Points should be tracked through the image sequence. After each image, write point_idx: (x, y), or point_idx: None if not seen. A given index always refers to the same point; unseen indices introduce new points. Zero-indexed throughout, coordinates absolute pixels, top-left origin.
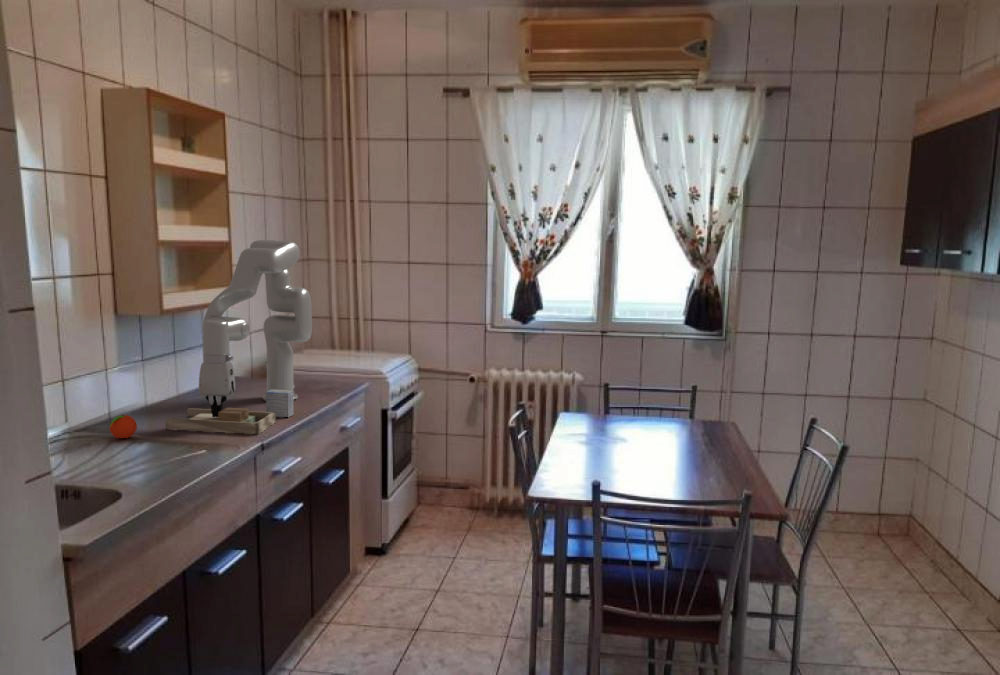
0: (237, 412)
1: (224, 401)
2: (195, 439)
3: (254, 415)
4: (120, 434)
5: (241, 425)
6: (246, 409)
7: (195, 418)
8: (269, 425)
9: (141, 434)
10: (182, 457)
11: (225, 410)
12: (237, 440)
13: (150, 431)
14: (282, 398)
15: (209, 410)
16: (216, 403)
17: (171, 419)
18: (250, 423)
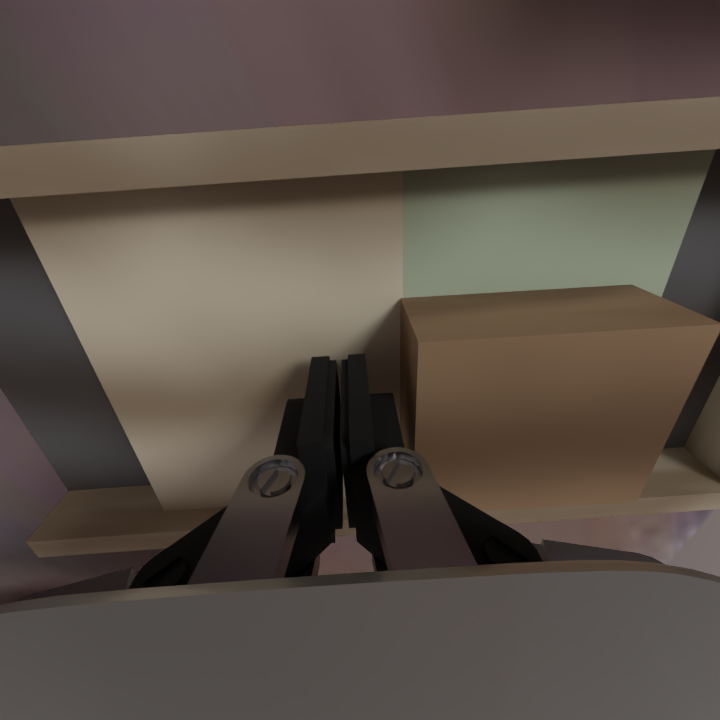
0: (605, 487)
1: (454, 510)
2: (368, 562)
3: (691, 159)
4: None
5: None
6: (695, 363)
7: (161, 420)
8: None
9: (58, 563)
10: None
11: (455, 455)
12: (575, 535)
13: (41, 522)
14: None
15: (82, 192)
16: (327, 493)
17: (83, 551)
18: (688, 508)
